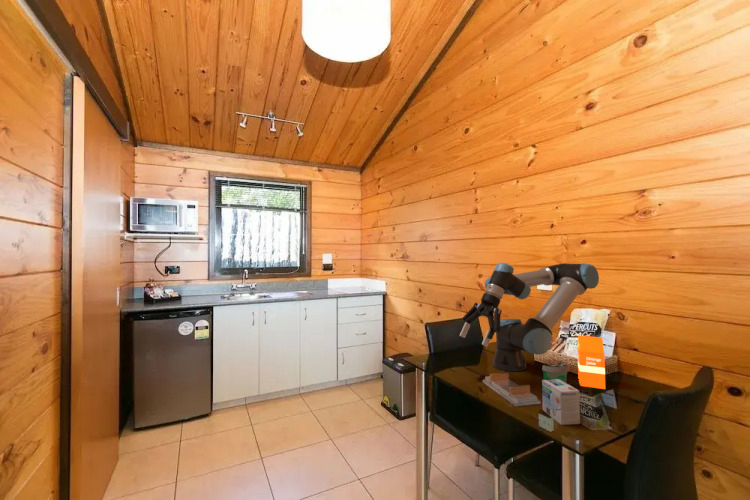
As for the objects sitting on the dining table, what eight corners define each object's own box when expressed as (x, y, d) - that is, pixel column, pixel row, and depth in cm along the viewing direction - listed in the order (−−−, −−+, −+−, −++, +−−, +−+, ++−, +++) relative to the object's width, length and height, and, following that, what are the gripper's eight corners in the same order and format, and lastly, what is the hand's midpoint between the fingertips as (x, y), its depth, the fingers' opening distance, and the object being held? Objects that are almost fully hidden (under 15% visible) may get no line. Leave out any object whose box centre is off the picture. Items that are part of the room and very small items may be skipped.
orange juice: (578, 379, 145) (576, 333, 145) (602, 382, 141) (601, 335, 141) (580, 385, 138) (578, 337, 138) (605, 389, 134) (604, 339, 134)
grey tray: (503, 380, 145) (503, 368, 145) (540, 403, 121) (540, 390, 122) (482, 382, 143) (482, 370, 143) (516, 406, 120) (515, 392, 120)
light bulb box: (541, 410, 117) (541, 379, 117) (560, 409, 117) (559, 378, 117) (561, 425, 106) (560, 391, 106) (581, 424, 107) (580, 390, 107)
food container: (556, 395, 129) (556, 369, 129) (542, 389, 134) (541, 365, 134) (576, 389, 134) (575, 364, 135) (561, 384, 140) (560, 360, 140)
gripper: (467, 288, 154) (448, 330, 150) (509, 296, 132) (488, 346, 128) (477, 295, 157) (459, 336, 153) (521, 305, 135) (501, 353, 130)
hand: (472, 341), depth 140 cm, fingers open, 13 cm apart
